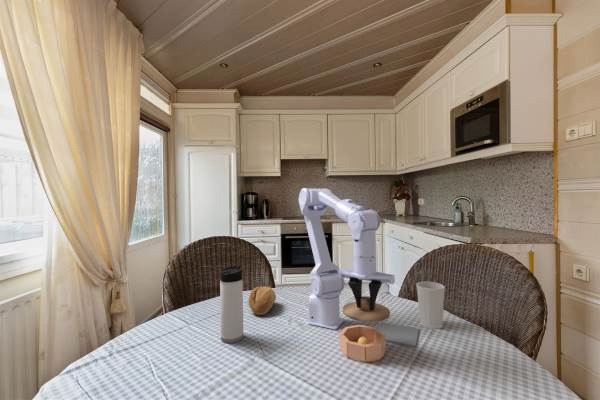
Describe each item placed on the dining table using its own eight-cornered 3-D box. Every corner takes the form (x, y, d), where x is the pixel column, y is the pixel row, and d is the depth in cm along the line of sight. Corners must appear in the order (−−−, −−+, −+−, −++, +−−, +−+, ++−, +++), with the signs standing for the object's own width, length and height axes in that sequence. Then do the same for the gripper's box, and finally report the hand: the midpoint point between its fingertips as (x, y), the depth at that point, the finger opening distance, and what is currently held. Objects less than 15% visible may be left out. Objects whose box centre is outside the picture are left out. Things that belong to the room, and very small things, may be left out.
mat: (372, 338, 76) (372, 337, 76) (381, 323, 85) (381, 321, 85) (415, 347, 71) (415, 346, 71) (419, 330, 80) (419, 328, 80)
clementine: (356, 350, 69) (356, 338, 69) (359, 345, 71) (359, 333, 72) (368, 353, 67) (368, 341, 67) (371, 347, 70) (370, 336, 70)
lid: (336, 316, 69) (335, 301, 69) (351, 301, 79) (350, 288, 79) (384, 325, 63) (384, 309, 63) (393, 308, 73) (393, 294, 74)
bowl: (334, 355, 68) (334, 339, 68) (348, 335, 78) (348, 322, 78) (379, 366, 63) (379, 350, 63) (388, 344, 72) (388, 330, 72)
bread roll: (244, 318, 91) (244, 294, 92) (253, 302, 106) (252, 281, 107) (273, 318, 91) (272, 294, 91) (277, 302, 106) (277, 281, 106)
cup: (449, 330, 79) (448, 289, 80) (420, 328, 81) (419, 288, 81) (441, 319, 87) (440, 282, 87) (414, 317, 89) (413, 281, 89)
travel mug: (248, 334, 80) (247, 266, 80) (234, 345, 74) (232, 271, 74) (231, 330, 82) (230, 264, 83) (216, 340, 76) (215, 269, 77)
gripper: (333, 256, 71) (334, 308, 71) (390, 261, 64) (391, 318, 64) (342, 252, 78) (343, 299, 77) (395, 256, 71) (396, 308, 70)
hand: (365, 307), depth 71 cm, fingers closed on lid, 3 cm apart
